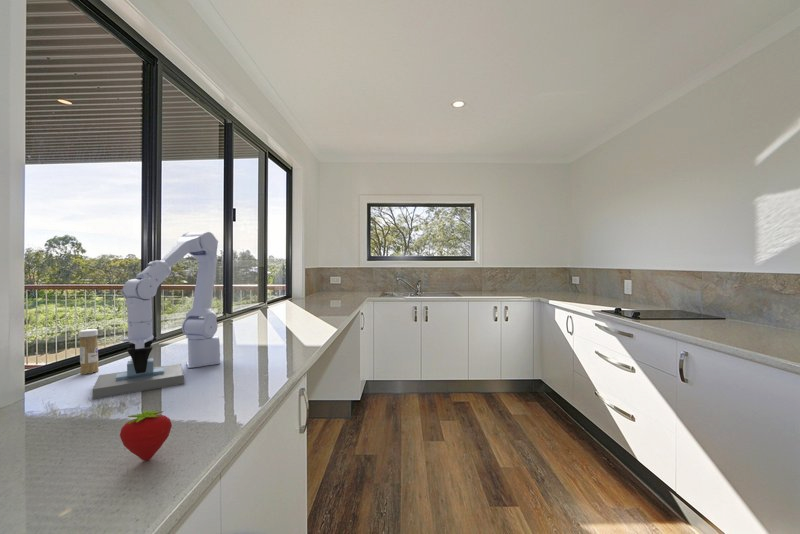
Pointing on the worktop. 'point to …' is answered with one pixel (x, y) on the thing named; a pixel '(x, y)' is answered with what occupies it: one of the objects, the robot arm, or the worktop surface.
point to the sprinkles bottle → (88, 351)
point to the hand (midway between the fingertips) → (141, 369)
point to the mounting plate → (137, 382)
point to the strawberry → (145, 433)
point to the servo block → (132, 374)
